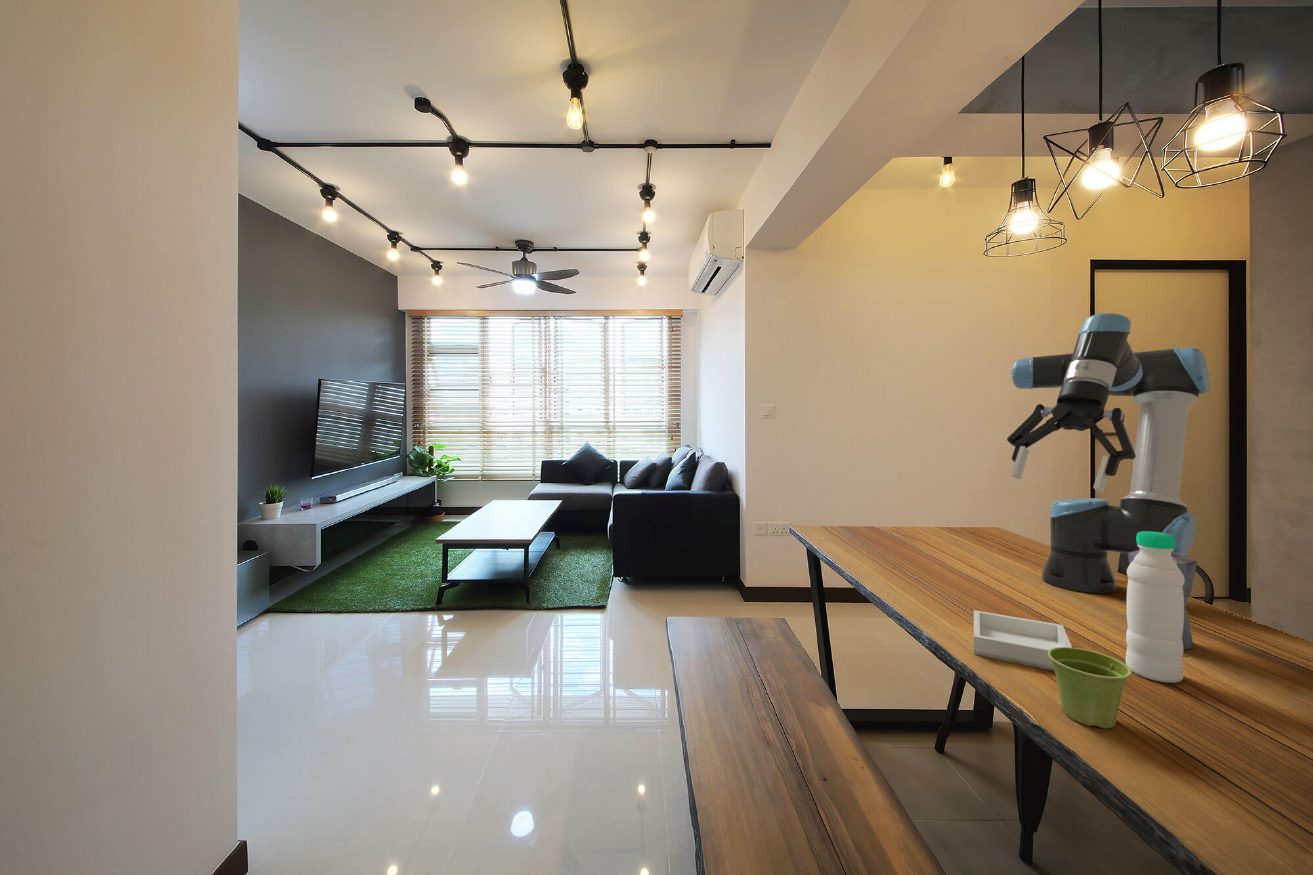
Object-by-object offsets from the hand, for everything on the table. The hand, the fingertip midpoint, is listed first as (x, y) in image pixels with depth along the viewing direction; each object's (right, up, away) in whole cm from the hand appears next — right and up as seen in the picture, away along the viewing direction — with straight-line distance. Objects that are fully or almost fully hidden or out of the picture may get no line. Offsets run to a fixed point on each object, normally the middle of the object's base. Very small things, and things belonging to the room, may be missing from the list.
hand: (1054, 483), depth 96 cm
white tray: (-8, -33, -1) cm, 33 cm away
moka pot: (+23, -32, +2) cm, 40 cm away
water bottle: (+8, -33, -11) cm, 36 cm away
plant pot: (-14, -34, -23) cm, 43 cm away
